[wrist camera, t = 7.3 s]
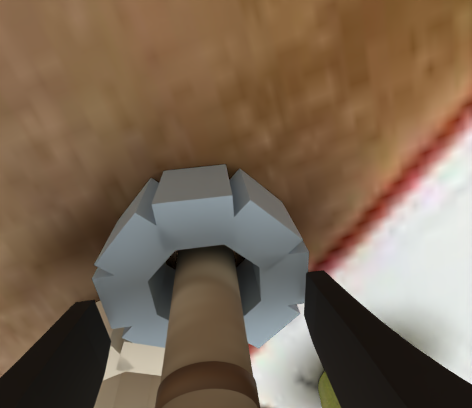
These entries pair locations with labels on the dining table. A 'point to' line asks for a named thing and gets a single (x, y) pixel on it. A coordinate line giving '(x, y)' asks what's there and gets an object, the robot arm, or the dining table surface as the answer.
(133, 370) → the cream bead
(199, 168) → the blue bead
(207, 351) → the brown wooden peg
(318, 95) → the dining table surface
